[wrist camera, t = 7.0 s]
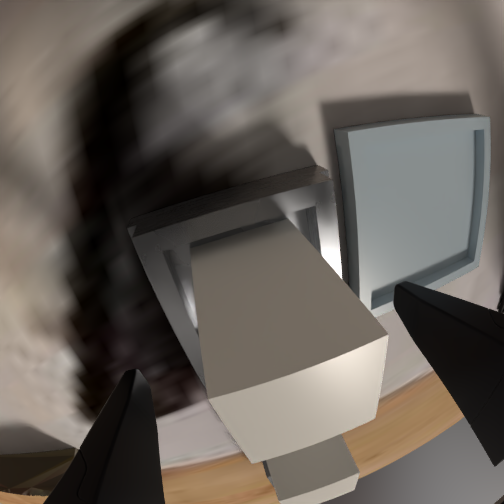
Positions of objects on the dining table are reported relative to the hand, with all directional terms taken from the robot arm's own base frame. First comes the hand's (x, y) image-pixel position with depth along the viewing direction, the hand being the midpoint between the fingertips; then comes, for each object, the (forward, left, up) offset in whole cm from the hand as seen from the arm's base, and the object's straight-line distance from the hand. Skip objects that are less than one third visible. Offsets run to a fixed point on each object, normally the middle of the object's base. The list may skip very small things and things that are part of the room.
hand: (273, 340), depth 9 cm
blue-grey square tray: (-10, 0, -5) cm, 11 cm away
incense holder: (+33, +16, -6) cm, 37 cm away
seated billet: (0, +10, -4) cm, 11 cm away
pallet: (0, +5, -5) cm, 7 cm away
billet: (0, 0, -4) cm, 4 cm away
